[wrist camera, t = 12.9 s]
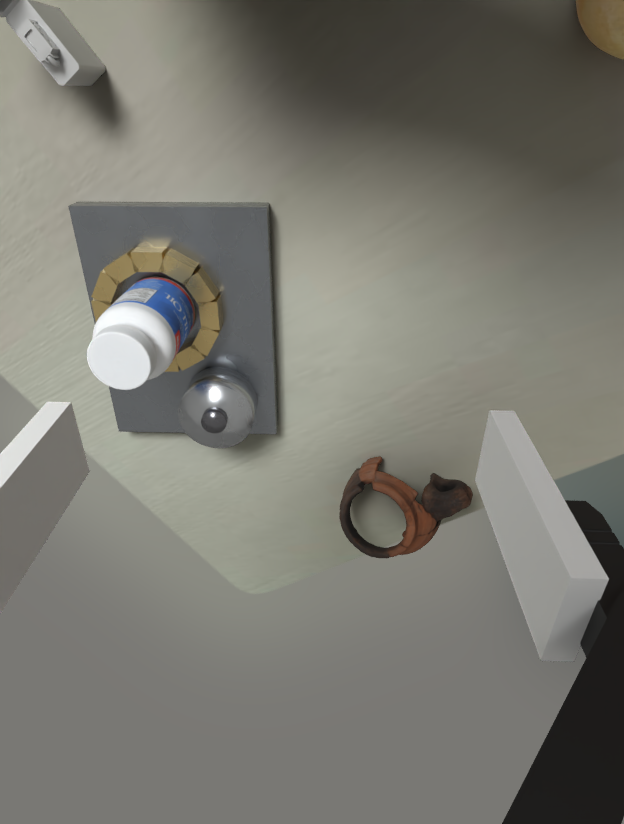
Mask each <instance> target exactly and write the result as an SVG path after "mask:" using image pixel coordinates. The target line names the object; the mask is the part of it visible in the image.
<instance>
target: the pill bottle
mask: <svg viewBox="0 0 624 824" xmlns="http://www.w3.org/2000/svg"><path fill="white" fill-rule="evenodd" d="M194 320H195V309H194V304H193V302H192V299H191V297H190V296H189V294H188V293H187V292H186V290H185V289H184V288H183V287H181V286H180V285H179V284H177V283H176V282H174V281H172V280H170V279H167V278H163V277H148V278H144V279H142V280H140V281H138V282H136V283H135V284H134V285H132V286H131V287H130V288H129V289H128V290H127V291H126V292H125V293H124V294H123V295H122V296H121V297H119V298H118V299H117V300H116V301H115V302H114V303H113V304H112V305H111V306H110V307H109V308H108V309H107V310H106V311H105V312H104V313H103V314H102V315H101V316H100V317H99V319H98V320H97V322H96V324H95V326H94V330H93V340H92V341H91V343H90V344H89V347H88V350H87V361H88V364H89V367H90V369H91V371H92V372H93V374H94V375H95V376H96V377H97V378H98V379H99V380H100V381H101V382H103V383H104V384H106V385H107V386H110V387H112V388H115V389H120V390H131V389H134V388H137V387H139V386H141V385H142V384H144V383H145V382H146V381H147V380H150V379H153V378H155V377H157V376H159V375H161V374H162V373H163V372H164V371H166V369H167V368H168V367H169V366H170V364H171V363H172V361H173V360H174V358H175V356H176V355H177V353H178V351H179V350H180V348H181V346H182V344H183V343H184V341H185V340H186V338H187V336H188V335H189V333H190V331H191V329H192V327H193V324H194Z"/></svg>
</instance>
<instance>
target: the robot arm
mask: <svg viewBox="0 0 624 824" xmlns="http://www.w3.org/2000/svg"><path fill="white" fill-rule="evenodd" d="M88 473H89V467H88V464H87V460H86V456H85V452H84V449H83V445H82V441H81V437H80V434H79V430H78V426H77V422H76V419H75V415H74V411H73V407H72V404H71V402H47V403H46V404H45V405H44V406H43V407H42V408H41V409H40V410H39V411H38V413H37V414H36V415H35V416H34V417H33V418H32V420H30V421H29V423H28V424H27V425H26V426H25V427H24V428H23V429H22V430H21V432H20V433H19V434H18V435H17V436H16V437H15V438H14V439H13V441H11V443H10V444H9V445H8V446H7V447H6V448H5V449H4V450H3V451H2V453H1V454H0V614H1V612H2V610H3V609H4V607H5V606H6V604H7V602H8V600H9V599H10V598H11V596H12V595H13V593H14V591H15V590H16V588H17V586H18V585H19V583H20V582H21V580H22V578H23V577H24V575H25V574H26V572H27V571H28V569H29V567H30V566H31V564H32V563H33V561H34V560H35V558H36V556H37V555H38V553H39V552H40V550H41V548H42V547H43V545H44V544H45V542H46V540H47V539H48V537H49V536H50V534H51V532H52V531H53V529H54V528H55V526H56V524H57V523H58V521H59V520H60V518H61V517H62V515H63V513H64V512H65V510H66V509H67V507H68V505H69V504H70V502H71V501H72V499H73V497H74V496H75V494H76V493H77V491H78V489H79V488H80V486H81V485H82V483H83V481H84V480H85V478H86V476H87V475H88ZM475 482H476V484H477V487H478V490H479V493H480V495H481V498H482V501H483V504H484V506H485V509H486V512H487V514H488V517H489V520H490V523H491V526H492V528H493V531H494V534H495V537H496V539H497V542H498V545H499V547H500V550H501V553H502V556H503V559H504V561H505V564H506V567H507V569H508V572H509V575H510V578H511V581H512V583H513V586H514V589H515V592H516V594H517V597H518V600H519V603H520V605H521V608H522V611H523V613H524V616H525V619H526V622H527V625H528V627H529V630H530V633H531V635H532V638H533V641H534V644H535V647H536V649H537V652H538V655H539V658H540V660H541V661H564V662H574V661H575V658H576V656H577V654H578V651H579V649H580V647H581V646H582V649H583V651H584V653H585V655H586V660H585V662H584V664H583V666H582V668H581V670H580V672H579V674H578V676H577V678H576V680H575V682H574V684H573V686H572V688H571V690H570V692H569V694H568V696H567V697H566V700H565V701H564V703H563V705H562V707H561V709H560V711H559V713H558V715H557V717H556V719H555V721H554V723H553V725H552V727H551V729H550V731H549V733H548V735H547V737H546V739H545V741H544V743H543V745H542V746H541V748H540V751H539V752H538V754H537V756H536V758H535V760H534V762H533V764H532V766H531V768H530V770H529V772H528V774H527V776H526V778H525V780H524V782H523V784H522V786H521V788H520V790H519V792H518V794H517V796H516V797H515V799H514V802H513V803H512V805H511V807H510V809H509V811H508V813H507V815H506V817H505V819H504V821H503V823H502V824H621V823H622V820H623V817H624V549H623V547H622V546H621V545H619V541H618V539H617V537H616V536H615V534H614V533H612V530H611V528H610V526H609V525H608V524H607V522H606V520H605V519H604V517H603V515H602V514H601V513H600V512H598V511H597V510H596V509H595V508H594V507H592V506H591V505H590V504H589V503H587V502H586V501H565V500H564V498H563V496H562V495H561V493H560V491H559V489H558V488H557V486H556V484H555V482H554V480H553V479H552V477H551V475H550V473H549V471H548V470H547V468H546V466H545V464H544V463H543V461H542V459H541V457H540V455H539V454H538V452H537V450H536V448H535V447H534V445H533V443H532V441H531V439H530V438H529V436H528V434H527V432H526V431H525V429H524V427H523V425H522V423H521V422H520V420H519V418H518V416H517V415H516V413H515V411H502V410H489V415H488V420H487V425H486V429H485V434H484V439H483V444H482V449H481V454H480V459H479V464H478V468H477V473H476V478H475Z"/></svg>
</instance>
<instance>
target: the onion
mask: <svg viewBox="0 0 624 824" xmlns="http://www.w3.org/2000/svg"><path fill="white" fill-rule="evenodd" d="M576 8H577V15H578V19H579V22H580V24H581V26H582V28H583V30H584V32H585V34H586V35H587V37H588V38H589V40H590V41H591V42H592V43H593V44H594V45H595V46H596V47H598V48H599V49H601V50H602V51H604V52H606V53H608V54H609V55H612V56H614V57H617V58H619V59H622V60H624V0H576Z"/></svg>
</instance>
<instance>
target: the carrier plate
mask: <svg viewBox="0 0 624 824" xmlns="http://www.w3.org/2000/svg"><path fill="white" fill-rule="evenodd" d="M69 210H70V215H71V219H72V224H73V228H74V233H75V237H76V242H77V246H78V251H79V255H80V259H81V264H82V268H83V273H84V277H85V282H86V286H87V291H88V295H89V300H90V304H91V309H92V313H93V318H94V322H95V324H96V322H97V320H98V319H99V317H100V316H101V315H102V314H103V313H104V312H105V311H106V310H107V309H108V308H109V307H110V306H111V305H112V304H113V303H114V302H115V301H116V300H117V299H118V298H119V297H121V296H122V295H123V294H124V293H125V292H126V291H127V290H128V289H129V288H130V287H131V286H132V285H134V284H135V283H136V282H138V281H140V280H142V279H144V278H148V277H163V278H167V279H170V280H172V281H174V282H176V283H177V284H179V285H180V286H181V287H183V288H184V289H185V290H186V292H187V293H188V294H189V296H190V297H191V299H192V302H193V304H194V309H195V320H194V324H193V327H192V329H191V331H190V333H189V335H188V336H187V338H186V340H185V341H184V343H183V344H182V346H181V348H180V350H179V351H178V353H177V355H176V356H175V358H174V360H173V361H172V363H171V364H170V366H169V367H168V368H167V369H166V371H164V372H163V373H162V374H161V375H159V376H157V377H155V378H153V379H150V380H147V381H146V382H145V383H144V384H142V385H141V386H139V387H137V388H134V389H131V390H120V389H115V388H112V387H110V386H109V389H110V393H111V398H112V402H113V407H114V411H115V416H116V420H117V425H118V429H119V431H124V432H182V433H186V434H187V435H188V436H189V437H190V438H192V439H193V440H194V441H196V442H198V443H200V444H202V445H204V446H208V447H212V448H227V447H231V446H234V445H236V444H238V443H240V442H241V441H243V440H244V439H245V438H246V437H247V436H248V434H276V432H277V426H278V417H277V392H276V367H275V341H274V316H273V291H272V265H271V240H270V215H269V203H199V202H76V203H74V204H72V205H70V206H69Z"/></svg>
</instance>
